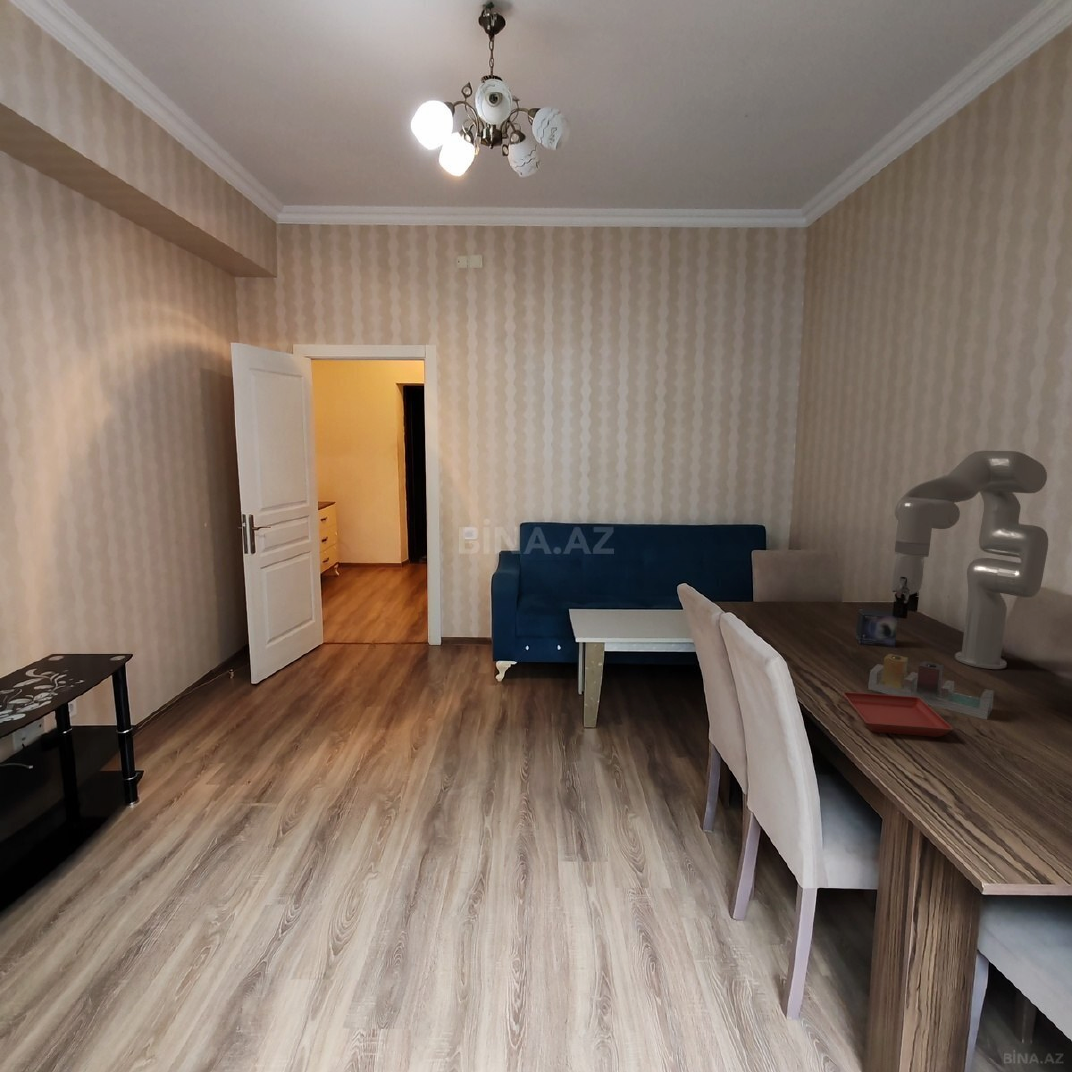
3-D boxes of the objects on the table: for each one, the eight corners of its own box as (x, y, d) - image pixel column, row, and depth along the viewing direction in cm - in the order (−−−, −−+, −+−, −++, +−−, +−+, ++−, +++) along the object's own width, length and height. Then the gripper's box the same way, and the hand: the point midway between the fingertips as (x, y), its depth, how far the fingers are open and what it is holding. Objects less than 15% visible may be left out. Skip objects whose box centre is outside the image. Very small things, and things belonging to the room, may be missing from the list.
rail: (876, 680, 170) (878, 663, 170) (992, 709, 153) (994, 690, 152) (867, 689, 165) (869, 671, 164) (986, 719, 147) (989, 699, 146)
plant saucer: (840, 703, 157) (841, 690, 156) (917, 708, 154) (919, 696, 153) (865, 736, 139) (866, 722, 139) (953, 743, 136) (954, 729, 136)
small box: (859, 645, 200) (862, 614, 199) (854, 639, 206) (857, 608, 205) (895, 648, 198) (899, 616, 196) (889, 641, 204) (892, 611, 202)
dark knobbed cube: (920, 686, 161) (923, 660, 160) (940, 691, 158) (943, 664, 157) (916, 691, 158) (919, 664, 157) (936, 696, 155) (939, 669, 154)
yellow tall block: (886, 678, 167) (889, 652, 166) (905, 682, 164) (908, 656, 163) (881, 682, 164) (884, 657, 163) (900, 687, 161) (903, 661, 159)
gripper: (904, 543, 166) (898, 605, 168) (885, 550, 153) (878, 617, 156) (937, 547, 161) (929, 611, 163) (919, 554, 148) (912, 623, 151)
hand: (904, 614), depth 160 cm, fingers open, 9 cm apart
